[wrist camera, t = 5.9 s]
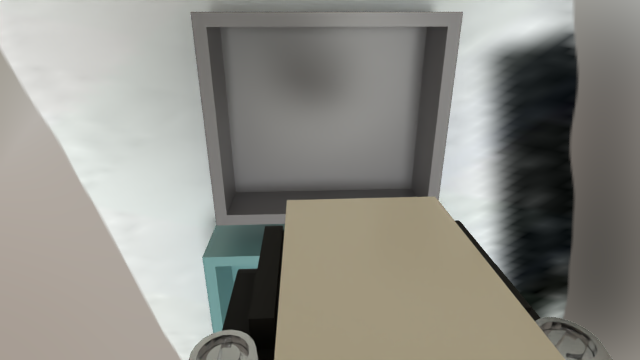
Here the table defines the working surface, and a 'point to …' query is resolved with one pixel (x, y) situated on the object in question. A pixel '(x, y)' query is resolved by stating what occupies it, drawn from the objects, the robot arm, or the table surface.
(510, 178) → the table surface
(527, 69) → the table surface
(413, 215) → the stone block
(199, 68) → the bin
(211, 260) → the bin
